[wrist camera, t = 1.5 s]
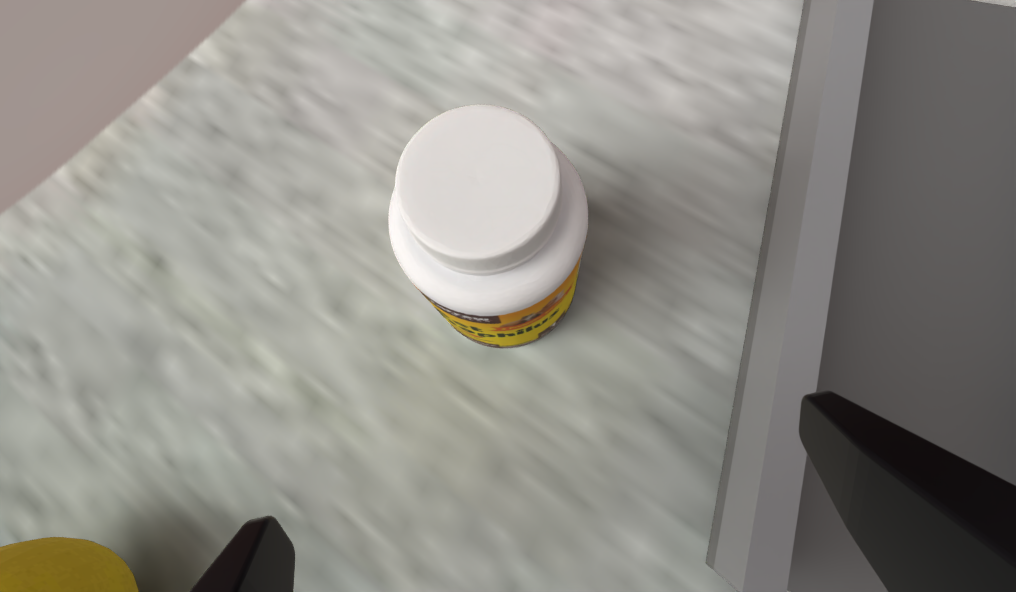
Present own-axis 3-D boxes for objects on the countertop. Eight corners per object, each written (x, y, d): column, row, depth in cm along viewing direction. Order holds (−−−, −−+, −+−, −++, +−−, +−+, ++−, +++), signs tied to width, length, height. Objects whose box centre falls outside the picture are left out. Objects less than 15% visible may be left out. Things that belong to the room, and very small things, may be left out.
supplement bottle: (437, 352, 23) (351, 295, 13) (440, 220, 24) (364, 76, 14) (578, 351, 23) (601, 290, 13) (574, 216, 24) (591, 66, 14)
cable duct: (1051, 660, 19) (1177, 719, 15) (705, 562, 21) (741, 594, 17) (1088, 38, 24) (1192, -37, 20) (805, -7, 25) (852, -86, 22)
